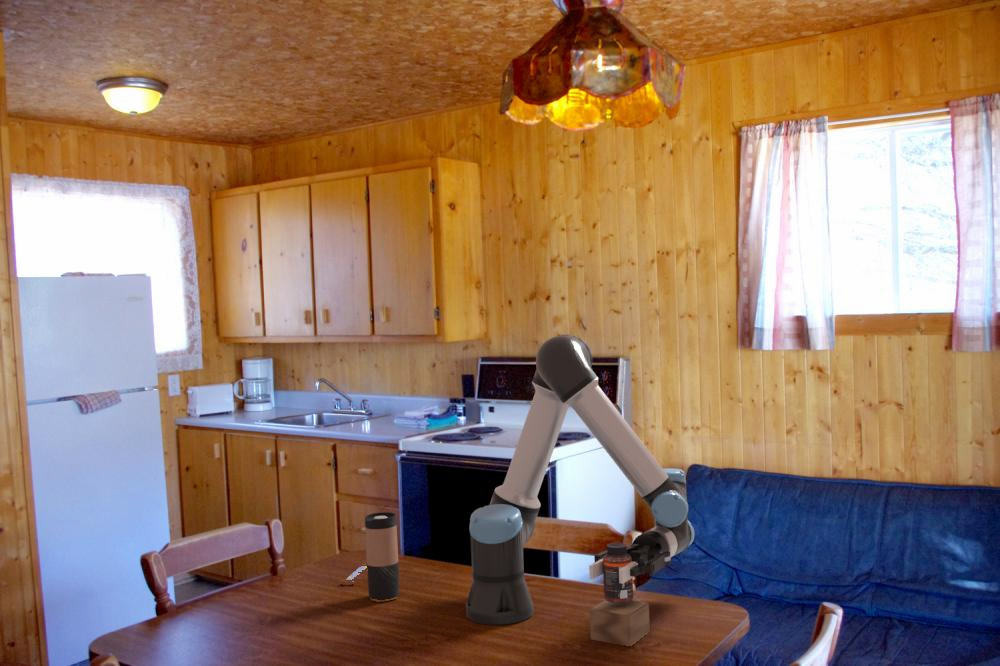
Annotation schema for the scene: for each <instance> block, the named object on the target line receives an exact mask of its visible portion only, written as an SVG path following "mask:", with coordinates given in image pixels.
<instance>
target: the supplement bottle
mask: <svg viewBox="0 0 1000 666" xmlns="http://www.w3.org/2000/svg"><path fill="white" fill-rule="evenodd" d="M627 547H628V546H627V544H626V543H623V542H611V543H608V544H607V545H606V550H607V552H608V553H607V554H606V555H605V556H604V557H603V574H602V575H603V596H604V597H603V598H604V599H605V600H607V601H608V602H612V603H626V602H629V601H631V600H633V599H634V580H633V579H634V577H633V578H631V579H630V580H628V581H627V582H625V583H623V584H621V583H619V569H621V568H623V567H624V566H626V565H628V564H630V563H631V562H632V558H631V556H630V555H629V554H627V552H626V551H627Z"/></svg>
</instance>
